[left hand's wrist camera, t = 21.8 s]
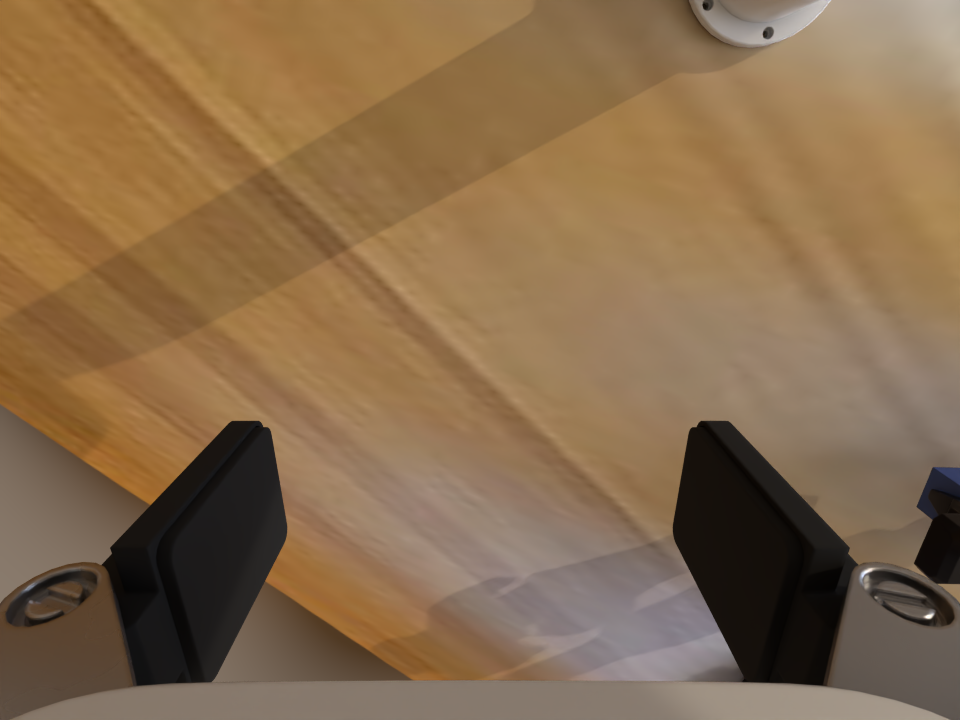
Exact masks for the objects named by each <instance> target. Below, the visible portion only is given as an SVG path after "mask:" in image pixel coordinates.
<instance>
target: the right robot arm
mask: <svg viewBox="0 0 960 720" xmlns="http://www.w3.org/2000/svg"><path fill="white" fill-rule="evenodd" d="M928 499H929V501H930V502H931V504H932V506H933V507H934V509H935V510H936V512H937V514H938V516H937V517H935V518H933V521H932V523H931V525H930V527H929V530H928V532H927V534H926V537H925V539H924V541H923V544H922V546H921V548H920V550H919V553H918V555H917V557H916V560H915V562H914V564H915V565H916V567H917V568H918V569H919V570H920V571H921V572H922V573H924V574H925V575H926V576H927V577H928V578H929V579H930V580H931V581H933V582H934V583H936V584H960V497H957V496H954V495H951V494H949V493H946V492H942V491H939V490H936V489H931V490H930V492H929V495H928Z"/></svg>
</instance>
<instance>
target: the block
mask: <svg viewBox="0 0 960 720" xmlns="http://www.w3.org/2000/svg"><path fill="white" fill-rule="evenodd" d="M931 489H936V490H939V491H942V492H946V493H949V494H951V495H954V496H957V497H960V468H942V467H933V468H932V471H931V473H930V476H929V478H928V480H927V483H926V485H925V488H924V490H923V492H922V495H921V497H920V500H919V502H918V504H917V508H919V509H920V510H921V511H922V512H924V513H925V514H926V515H927V516H929V517H930V518H931V519H932V520H933V518H935V517H937V516H938V514H937V512H936V510H935V509H934V507H933V506H932V504H931V502H930V501H929V499H928V495H929V492H930V490H931Z"/></svg>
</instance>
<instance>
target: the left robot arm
mask: <svg viewBox="0 0 960 720" xmlns="http://www.w3.org/2000/svg"><path fill="white" fill-rule="evenodd" d="M830 1H831V0H689V2H690V5H691V8H692V10H693V12H694V14H695V15H696V17H697V19H698V20H699V22H700V23H701V25H702V26H703V27H704V28H705V29H706V30H707V31H708V32H709V33H710V34H711V35H713V36H714V37H716V38H718V39H719V40H721V41H722V42H724V43H727V44H730V45H733V46H736V47H747V48H754V47H762V46H767V45H770V44H773V43H776V42H779V41H781V40H784V39H786V38H788V37H790V36H792V35H794V34H796V33H797V32H799V31H800V30H802V29H803V28H805V27H806V26H808V25H809V24H810V23H811V22H812V21H813V20H814V19H815V18H816V17H817V16H818V15H819V14H820V13H821V12H822V11H823V10H824V8H825V7H826V6H827V5H828V3H829V2H830ZM702 4H705V5H706V10H704V9H703V6H702ZM763 32H764V33H765V37H764V38H763ZM286 536H287V522H286V516H285V510H284V504H283V499H282V493H281V487H280V481H279V475H278V469H277V464H276V458H275V452H274V446H273V440H272V435H271V431H270V429H269V428H268V427H263V425H262V423H261V422H260V421H231V422H230V423H229V424H228V425H227V426H226V427H225V428H224V429H223V430H222V431H221V432H220V433H219V434H218V435H217V436H216V437H215V438H214V440H213V441H212V442H211V443H210V444H209V445H208V446H207V447H206V448H205V449H204V450H203V451H202V452H201V453H200V454H199V455H198V456H197V457H196V458H195V459H194V460H193V462H192V463H191V464H190V465H189V466H188V467H187V468H186V469H185V470H184V471H183V472H182V473H181V474H180V475H179V476H178V477H177V478H176V479H175V480H174V481H173V482H172V484H171V485H170V486H169V487H168V488H167V489H166V490H165V491H164V492H163V493H162V494H161V495H160V496H159V497H158V498H157V499H156V500H155V501H154V502H153V503H152V505H151V506H150V507H149V508H148V509H147V510H146V511H145V512H144V513H143V514H142V515H141V516H140V517H139V518H138V519H137V520H136V521H135V522H134V523H133V524H132V525H131V527H130V528H129V529H128V530H127V531H126V532H125V533H124V534H123V535H122V536H121V537H120V538H119V539H118V540H117V541H116V542H115V543H114V544H113V545H112V546H111V548H110V549H111V552H112V554H111V556H110V557H109V558H108V559H107V560H106V561H105V562H104V563H103V564H102V565H99V564H97V563H90V562H80V563H73V564H67V565H64V566H61V567H58V568H54V569H51V570H49V571H47V572H45V573H42V574H40V575H38V576H36V577H34V578H32V579H30V580H29V581H27V582H26V583H24V584H22V585H21V586H19V587H17V588H16V589H15V590H14V591H13V592H12V593H10V594H9V595H8V596H7V597H6V598H4V600H3V601H2V602H1V603H0V720H960V603H959V602H958V601H957V600H956V598H954V597H953V596H952V595H951V594H950V593H948V592H947V591H946V590H945V589H944V588H943V587H941V586H939V585H938V584H936V583H934V582H933V581H931V580H930V579H928V578H926V577H924V576H922V575H920V574H918V573H915V572H913V571H911V570H909V569H906V568H902V567H899V566H896V565H893V564H887V563H880V562H870V563H863V564H861V565H858V564H857V563H856V562H855V561H854V560H853V559H852V558H851V557H850V555H849V554H848V552H849V549H850V547H849V546H848V545H847V544H846V543H845V542H844V541H843V540H842V539H841V538H840V537H839V536H838V535H837V534H836V533H835V532H834V531H833V530H832V529H831V528H830V527H829V525H828V524H827V523H826V522H825V521H824V520H823V519H822V518H821V517H820V516H819V515H818V514H817V513H816V512H815V511H814V510H813V509H812V508H811V507H810V506H809V505H808V503H807V502H806V501H805V500H804V499H803V498H802V497H801V496H800V495H799V494H798V493H797V492H796V491H795V490H794V489H793V488H792V487H791V486H790V485H789V484H788V482H787V481H786V480H785V479H784V478H783V477H782V476H781V475H780V474H779V473H778V472H777V471H776V470H775V469H774V468H773V467H772V466H771V465H770V464H769V463H768V462H767V460H766V459H765V458H764V457H763V456H762V455H761V454H760V453H759V452H758V451H757V450H756V449H755V448H754V447H753V446H752V445H751V444H750V443H749V442H748V441H747V440H746V438H745V437H744V436H743V435H742V434H741V433H740V432H739V431H738V430H737V429H736V428H735V427H734V426H733V425H732V424H731V423H730V422H729V421H700V422H699V423H698V425H697V427H692V428H691V429H690V431H689V435H688V440H687V446H686V452H685V458H684V464H683V469H682V475H681V481H680V487H679V493H678V499H677V504H676V510H675V516H674V522H673V536H674V540H675V542H676V545H677V547H678V549H679V550H680V552H681V554H682V556H683V558H684V560H685V562H686V564H687V566H688V568H689V570H690V572H691V574H692V576H693V578H694V580H695V582H696V584H697V586H698V588H699V590H700V592H701V594H702V595H703V597H704V599H705V601H706V603H707V605H708V607H709V609H710V611H711V613H712V615H713V617H714V619H715V621H716V623H717V625H718V627H719V629H720V631H721V633H722V635H723V637H724V639H725V640H726V642H727V644H728V646H729V648H730V650H731V652H732V654H733V656H734V658H735V660H736V662H737V664H738V666H739V668H740V670H741V672H742V674H743V676H744V677H745V679H746V680H747V681H748V682H684V681H510V680H450V681H277V682H212V681H213V680H214V679H215V677H216V675H217V674H218V672H219V670H220V668H221V666H222V664H223V662H224V660H225V658H226V656H227V654H228V652H229V650H230V648H231V646H232V644H233V642H234V640H235V638H236V637H237V635H238V633H239V631H240V629H241V627H242V625H243V623H244V621H245V619H246V617H247V615H248V613H249V611H250V609H251V607H252V605H253V603H254V601H255V599H256V597H257V595H258V594H259V592H260V589H261V588H262V586H263V584H264V582H265V580H266V578H267V576H268V574H269V572H270V570H271V568H272V566H273V564H274V562H275V560H276V558H277V556H278V554H279V552H280V550H281V549H282V547H283V545H284V542H285V540H286Z"/></svg>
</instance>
